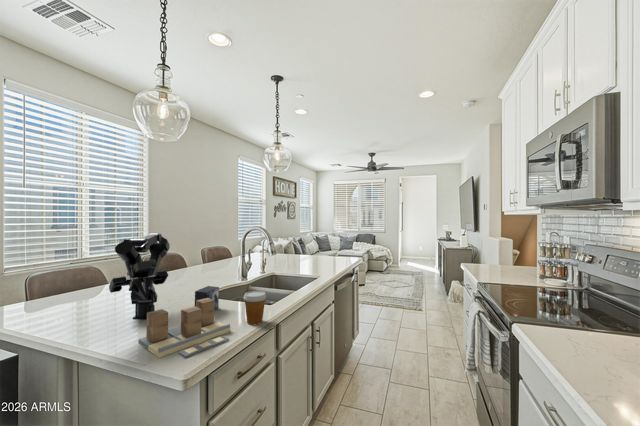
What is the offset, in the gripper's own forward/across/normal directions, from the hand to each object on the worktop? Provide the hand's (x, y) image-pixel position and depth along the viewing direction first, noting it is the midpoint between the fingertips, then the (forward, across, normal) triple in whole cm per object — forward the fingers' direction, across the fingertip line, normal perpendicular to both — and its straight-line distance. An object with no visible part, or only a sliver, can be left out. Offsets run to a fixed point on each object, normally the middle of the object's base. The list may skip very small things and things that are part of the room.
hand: (146, 299), depth 104 cm
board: (+18, +9, +1) cm, 21 cm away
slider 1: (+15, 0, +2) cm, 15 cm away
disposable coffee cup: (+24, +34, -5) cm, 42 cm away
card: (+27, +9, -8) cm, 30 cm away
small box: (+4, +29, +15) cm, 33 cm away
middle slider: (+19, +9, -3) cm, 21 cm away
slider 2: (+15, +18, +2) cm, 24 cm away
